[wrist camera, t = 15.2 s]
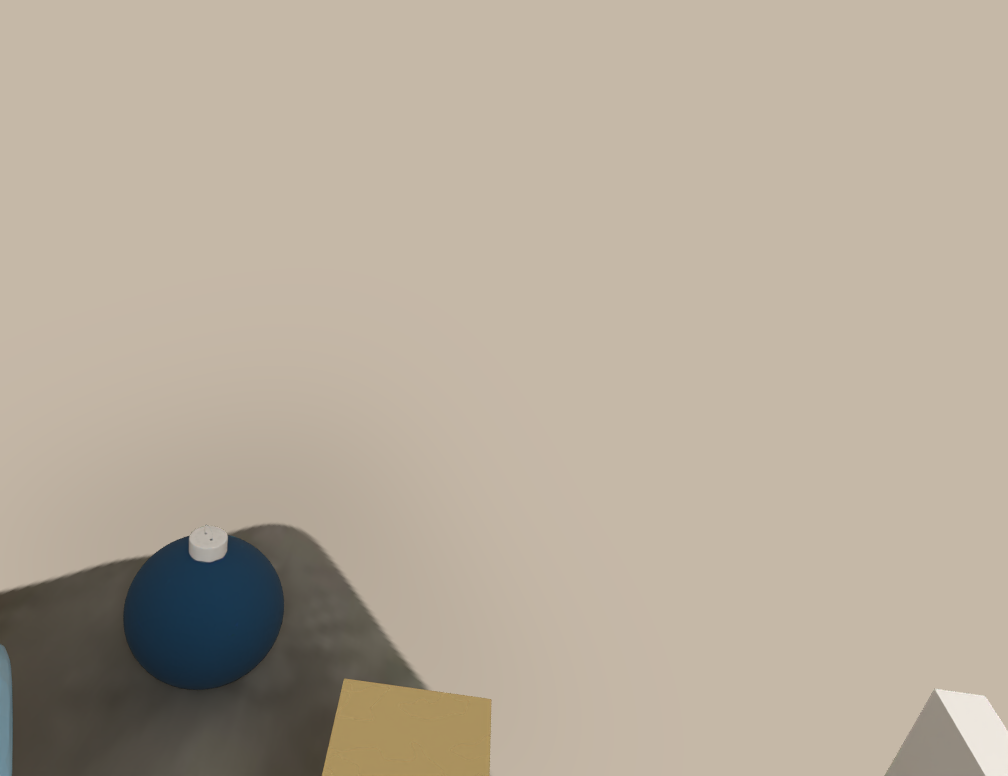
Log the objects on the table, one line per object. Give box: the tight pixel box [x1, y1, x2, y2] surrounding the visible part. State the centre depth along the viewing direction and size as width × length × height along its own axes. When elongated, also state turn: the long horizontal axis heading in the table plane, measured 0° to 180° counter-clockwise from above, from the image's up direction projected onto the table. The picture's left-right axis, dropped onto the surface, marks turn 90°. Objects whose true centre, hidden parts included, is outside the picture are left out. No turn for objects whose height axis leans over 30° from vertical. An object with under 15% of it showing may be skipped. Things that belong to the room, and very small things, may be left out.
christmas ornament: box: [124, 525, 284, 690], centre depth 47 cm, size 8×8×10 cm
